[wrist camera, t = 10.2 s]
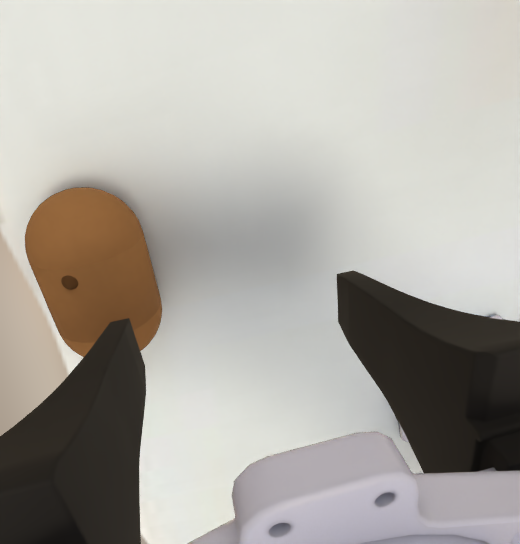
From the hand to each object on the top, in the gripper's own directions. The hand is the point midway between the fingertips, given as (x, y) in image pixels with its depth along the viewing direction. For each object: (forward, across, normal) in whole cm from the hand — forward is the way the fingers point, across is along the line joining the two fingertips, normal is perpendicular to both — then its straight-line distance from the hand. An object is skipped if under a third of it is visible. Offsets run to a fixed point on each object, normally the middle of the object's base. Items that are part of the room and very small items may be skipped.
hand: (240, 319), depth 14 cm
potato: (+9, +6, 0) cm, 10 cm away
